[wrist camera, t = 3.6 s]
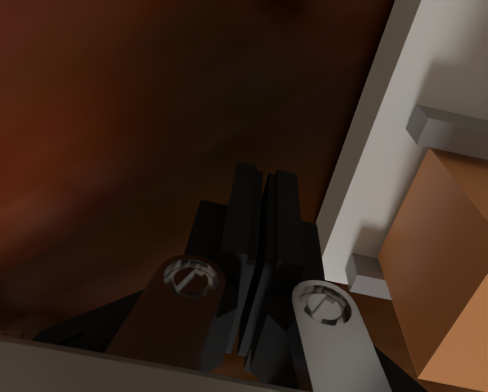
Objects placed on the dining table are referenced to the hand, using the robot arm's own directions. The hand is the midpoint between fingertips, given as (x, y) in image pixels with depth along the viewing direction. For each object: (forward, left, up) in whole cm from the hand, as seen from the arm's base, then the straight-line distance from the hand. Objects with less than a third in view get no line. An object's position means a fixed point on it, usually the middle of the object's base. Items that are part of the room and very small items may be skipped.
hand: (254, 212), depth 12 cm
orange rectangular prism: (-6, 0, -2) cm, 6 cm away
